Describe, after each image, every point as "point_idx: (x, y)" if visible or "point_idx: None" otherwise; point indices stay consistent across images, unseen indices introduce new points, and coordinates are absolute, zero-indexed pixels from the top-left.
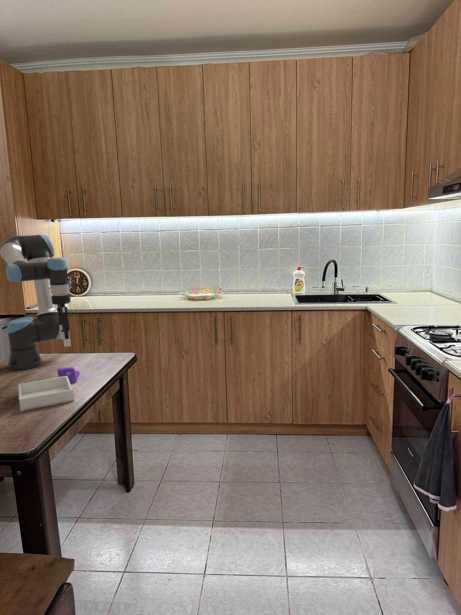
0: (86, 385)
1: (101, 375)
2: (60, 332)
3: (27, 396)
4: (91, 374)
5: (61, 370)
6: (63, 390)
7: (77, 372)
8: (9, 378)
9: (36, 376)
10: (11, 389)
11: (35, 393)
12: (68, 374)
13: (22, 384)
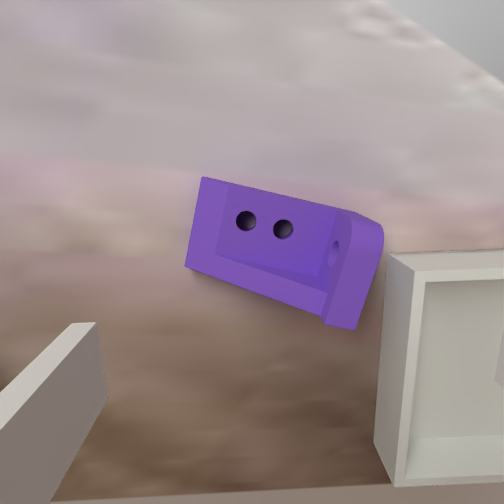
0: (435, 163)
1: (307, 49)
2: (54, 485)
3: (434, 420)
4: (252, 109)
5: (360, 306)
6: (462, 282)
7: (257, 194)
8: (111, 485)
9: (137, 385)
10: (278, 471)
11: (418, 393)
12: (268, 247)
13: (404, 470)
